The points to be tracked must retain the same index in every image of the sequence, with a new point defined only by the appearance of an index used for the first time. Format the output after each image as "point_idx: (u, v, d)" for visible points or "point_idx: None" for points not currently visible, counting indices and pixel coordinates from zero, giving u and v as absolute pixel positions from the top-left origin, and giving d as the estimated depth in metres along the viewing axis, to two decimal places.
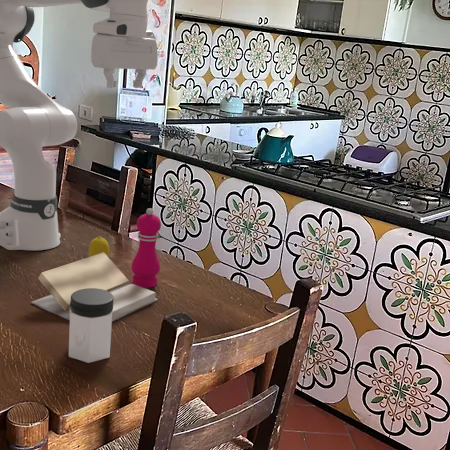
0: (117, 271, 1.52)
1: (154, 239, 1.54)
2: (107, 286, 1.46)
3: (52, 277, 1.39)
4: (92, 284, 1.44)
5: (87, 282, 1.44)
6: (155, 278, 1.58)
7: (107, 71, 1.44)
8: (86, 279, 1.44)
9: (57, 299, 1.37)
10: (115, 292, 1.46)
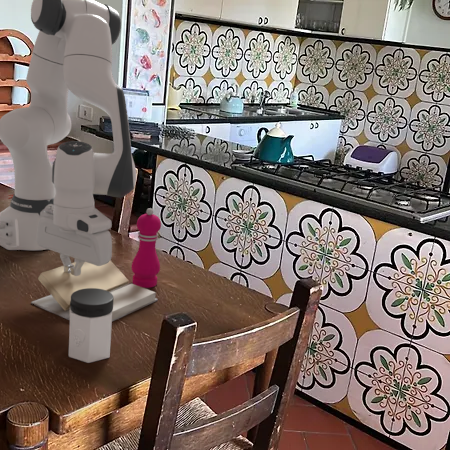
0: (117, 271, 1.52)
1: (154, 239, 1.54)
2: (107, 286, 1.46)
3: (52, 277, 1.39)
4: (92, 284, 1.44)
5: (86, 283, 1.44)
6: (155, 278, 1.58)
7: None
8: (86, 279, 1.44)
9: (57, 299, 1.37)
10: (115, 292, 1.46)
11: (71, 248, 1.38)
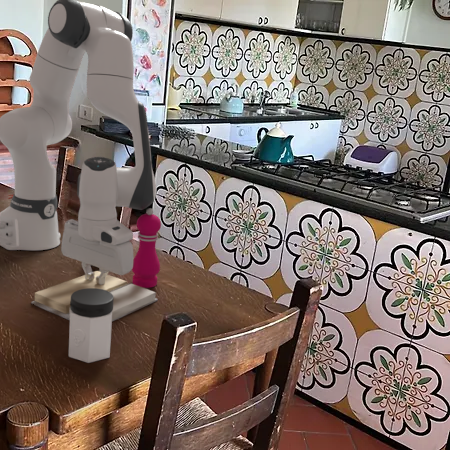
0: (113, 278, 1.53)
1: (154, 239, 1.54)
2: (104, 288, 1.47)
3: (46, 293, 1.41)
4: None
5: None
6: (155, 278, 1.58)
7: None
8: (82, 288, 1.46)
9: (56, 307, 1.38)
10: (115, 292, 1.46)
11: (94, 257, 1.46)
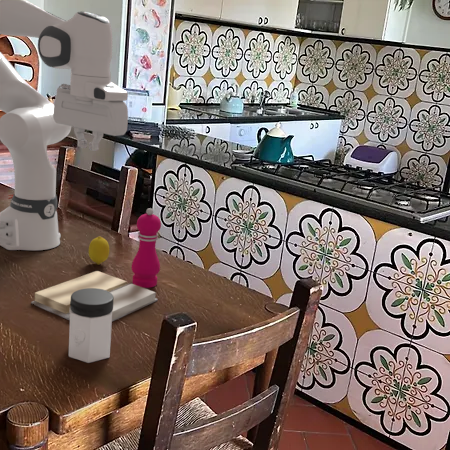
0: (113, 278, 1.53)
1: (154, 239, 1.54)
2: (104, 288, 1.47)
3: (46, 293, 1.41)
4: None
5: None
6: (155, 278, 1.58)
7: (101, 134, 1.41)
8: (82, 288, 1.46)
9: (56, 307, 1.38)
10: (115, 292, 1.46)
11: (87, 120, 1.40)
